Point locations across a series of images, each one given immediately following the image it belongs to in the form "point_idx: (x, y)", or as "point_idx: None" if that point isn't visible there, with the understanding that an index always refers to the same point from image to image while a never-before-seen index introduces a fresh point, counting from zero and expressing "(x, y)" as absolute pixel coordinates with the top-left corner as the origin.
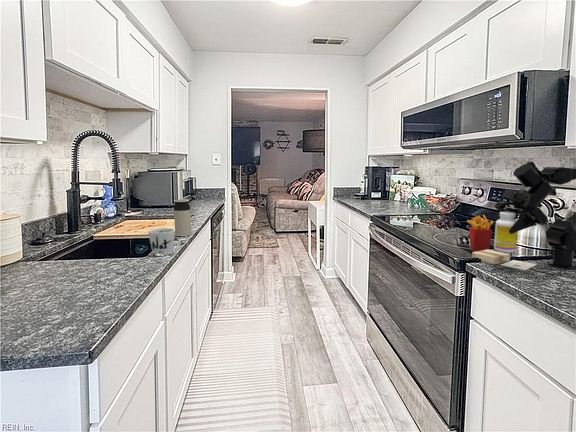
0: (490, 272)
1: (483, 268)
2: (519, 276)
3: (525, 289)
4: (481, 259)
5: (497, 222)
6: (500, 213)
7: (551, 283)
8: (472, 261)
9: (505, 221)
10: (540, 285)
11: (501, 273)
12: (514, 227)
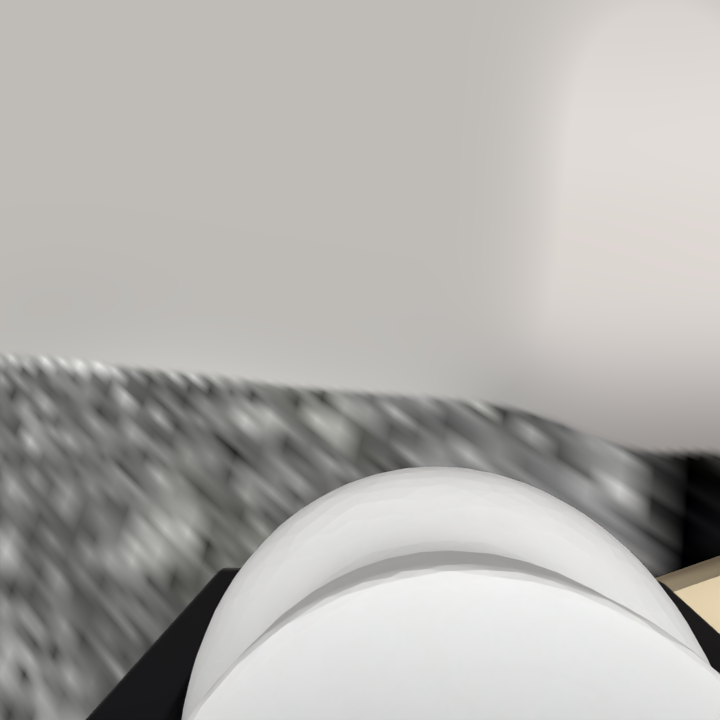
0: (362, 424)
1: (467, 441)
2: (224, 563)
3: (8, 397)
4: (691, 569)
5: (472, 472)
6: (539, 570)
7: (23, 666)
8: (684, 487)
9: (303, 583)
10: (24, 549)
11: (321, 485)
12: (139, 671)
